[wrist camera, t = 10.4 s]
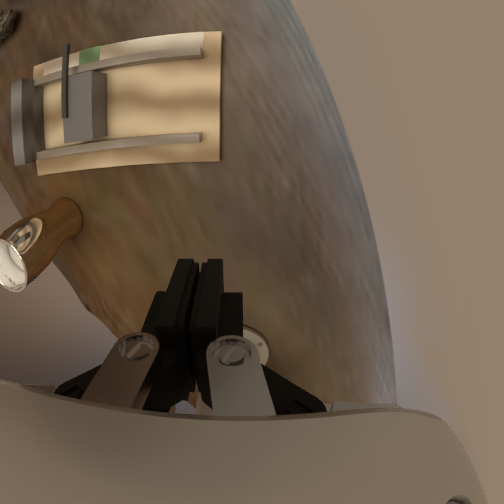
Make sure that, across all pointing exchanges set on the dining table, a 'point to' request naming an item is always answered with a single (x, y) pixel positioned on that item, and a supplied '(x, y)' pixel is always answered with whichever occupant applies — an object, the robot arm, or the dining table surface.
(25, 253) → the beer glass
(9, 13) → the stone
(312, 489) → the robot arm
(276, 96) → the dining table surface
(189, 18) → the dining table surface
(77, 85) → the slider
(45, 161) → the gauge board
